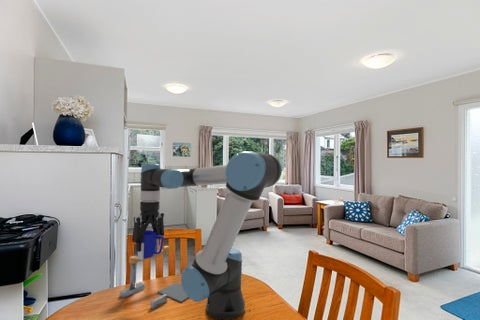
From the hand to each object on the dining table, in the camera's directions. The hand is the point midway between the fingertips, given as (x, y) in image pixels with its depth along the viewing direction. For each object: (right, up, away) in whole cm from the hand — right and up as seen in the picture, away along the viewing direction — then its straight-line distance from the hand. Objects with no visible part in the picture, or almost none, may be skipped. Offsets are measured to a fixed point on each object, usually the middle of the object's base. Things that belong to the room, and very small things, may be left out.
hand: (148, 256), depth 108 cm
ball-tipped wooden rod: (-3, -5, +11) cm, 12 cm away
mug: (0, -1, +1) cm, 1 cm away
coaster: (+11, -18, +6) cm, 22 cm away
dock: (-2, -17, 0) cm, 18 cm away
